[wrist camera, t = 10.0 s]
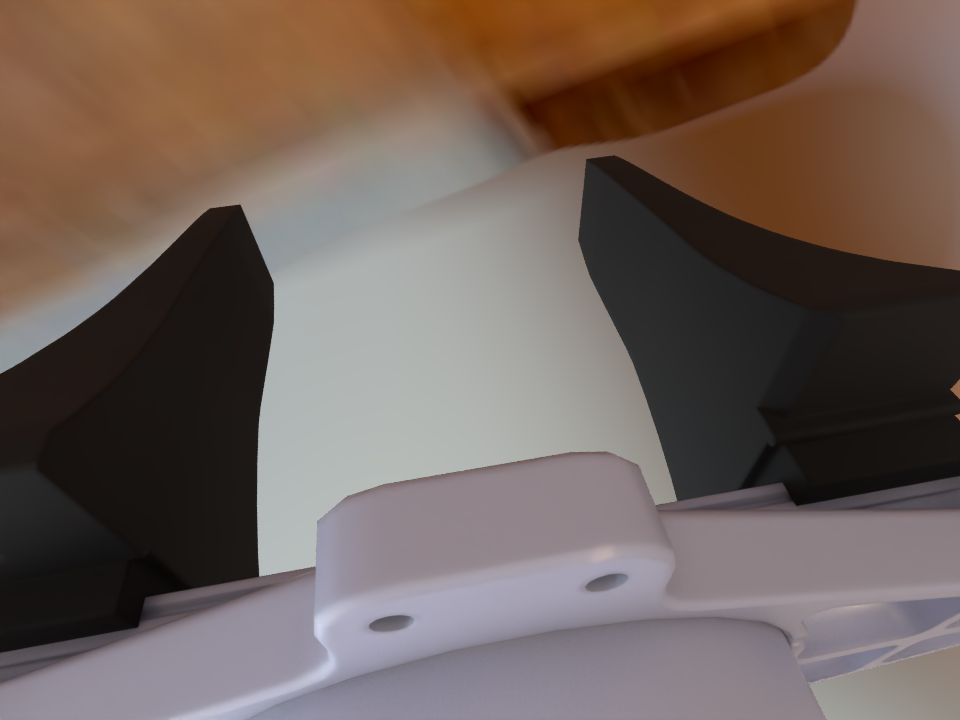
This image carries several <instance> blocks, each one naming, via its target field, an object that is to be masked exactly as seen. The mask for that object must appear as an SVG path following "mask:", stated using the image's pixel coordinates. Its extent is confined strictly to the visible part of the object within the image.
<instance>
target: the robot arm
mask: <svg viewBox="0 0 960 720" xmlns="http://www.w3.org/2000/svg"><path fill="white" fill-rule="evenodd" d="M578 240H579V243H580V246H581V250H582V253H583V257H584V260H585V263H586V266H587V268H588V272H589V275H590V277H591V279H592V281H593V283H594V285H595V287H596V289H597V291H598V293H599V295H600V297H601V299H602V301H603V303H604V305H605V307H606V309H607V311H608V313H609V315H610V317H611V319H612V321H613V323H614V325H615V327H616V329H617V331H618V333H619V335H620V337H621V338H622V341H623V343H624V345H625V346H626V349H627V351H628V353H629V355H630V357H631V359H632V362H633V364H634V367H635V370H636V372H637V375H638V378H639V381H640V383H641V386H642V389H643V391H644V394H645V397H646V400H647V403H648V406H649V409H650V411H651V415H652V418H653V421H654V423H655V427H656V430H657V433H658V435H659V439H660V442H661V446H662V449H663V452H664V456H665V459H666V462H667V466H668V469H669V472H670V475H671V478H672V483H673V486H674V490H675V494H676V497H677V501H676V502H671V503H665V504H659V505H655V504H654V501H653V499H652V496H651V494H650V492H649V489H648V487H647V484H646V482H645V480H644V477H643V475H642V473H641V470H640V468H639V465H637V464H635V463H632V462H630V461H628V460H626V459H624V458H621V457H619V456H617V455H615V454H612V453H608V452H571V453H564V454H558V455H552V456H546V457H540V458H535V459H529V460H523V461H517V462H511V463H506V464H500V465H494V466H488V467H482V468H476V469H470V470H465V471H459V472H453V473H447V474H441V475H435V476H430V477H424V478H418V479H412V480H406V481H400V482H394V483H389V484H383V485H380V486H377V487H374V488H371V489H368V490H365V491H362V492H359V493H355V494H352V495H349V496H347V497H346V498H344V499H343V500H342V501H341V502H340V503H338V504H337V505H336V506H335V507H334V508H333V509H331V510H330V511H329V512H328V513H327V514H326V515H324V516H323V517H322V518H321V519H320V520H318V522H317V548H316V567H311V568H305V569H300V570H295V571H289V572H283V573H277V574H272V575H266V576H261V577H259V564H258V537H257V536H258V535H257V456H258V455H257V454H258V427H259V416H260V407H261V401H262V395H263V388H264V382H265V376H266V370H267V364H268V358H269V351H270V344H271V338H272V331H273V324H274V283H273V280H272V278H271V276H270V273H269V271H268V269H267V266H266V264H265V262H264V259H263V257H262V254H261V252H260V250H259V247H258V245H257V243H256V240H255V238H254V236H253V233H252V231H251V228H250V226H249V224H248V221H247V219H246V217H245V214H244V212H243V210H242V207H241V205H233V206H225V207H218V208H210V209H209V210H207V211H206V212H205V213H203V214H202V215H201V216H200V217H199V218H198V219H197V220H196V221H195V222H194V223H193V224H192V225H191V226H190V227H189V228H188V229H187V230H186V231H185V232H184V233H183V234H182V235H181V236H180V237H179V238H178V239H177V240H176V241H175V242H174V243H173V244H172V245H171V246H170V247H169V248H168V249H167V250H166V251H165V252H164V253H163V254H162V255H161V256H160V257H159V258H158V259H157V260H156V261H155V262H154V263H153V264H152V265H151V266H150V267H148V268H147V269H146V270H145V271H144V272H143V273H142V274H141V275H140V276H138V277H137V278H136V279H135V280H134V281H133V282H132V283H131V284H130V285H128V286H127V287H126V288H125V289H124V290H123V291H122V292H121V293H120V294H118V295H117V296H116V297H115V298H114V299H112V300H111V301H110V302H109V303H108V304H106V305H105V306H104V307H102V308H101V309H100V310H99V311H97V312H96V313H95V314H93V315H92V316H91V317H89V318H88V319H86V320H85V321H84V322H82V323H81V324H80V325H78V326H77V327H76V328H74V329H73V330H71V331H70V332H68V333H67V334H65V335H64V336H62V337H61V338H59V339H57V340H56V341H54V342H53V343H51V344H49V345H48V346H46V347H45V348H43V349H42V350H40V351H38V352H37V353H35V354H34V355H32V356H30V357H29V358H27V359H26V360H24V361H22V362H21V363H19V364H17V365H16V366H14V367H12V368H10V369H9V370H7V371H5V372H3V373H1V374H0V720H826V718H825V716H824V714H823V712H822V710H821V708H820V706H819V704H818V702H817V700H816V698H815V696H814V694H813V692H812V690H811V688H810V686H809V684H812V683H816V682H820V681H824V680H828V679H832V678H836V677H839V676H843V675H847V674H851V673H855V672H858V671H862V670H866V669H870V668H874V667H878V666H882V665H885V664H889V663H893V662H897V661H901V660H904V659H908V658H912V657H916V656H920V655H924V654H928V653H932V652H936V651H939V650H944V649H948V648H952V647H956V646H959V645H960V421H959V419H958V418H957V417H956V416H955V415H957V414H960V399H959V398H958V397H957V396H956V395H955V394H954V393H953V392H952V391H951V390H950V389H951V388H952V387H953V386H954V385H955V384H956V383H957V381H958V380H959V379H960V271H959V270H952V269H944V268H937V267H930V266H923V265H915V264H908V263H901V262H893V261H888V260H882V259H877V258H872V257H867V256H862V255H857V254H852V253H847V252H843V251H839V250H835V249H830V248H826V247H822V246H818V245H814V244H811V243H808V242H804V241H801V240H797V239H794V238H790V237H787V236H784V235H781V234H778V233H774V232H772V231H769V230H766V229H764V228H761V227H758V226H756V225H753V224H750V223H748V222H745V221H742V220H740V219H737V218H735V217H732V216H730V215H728V214H726V213H723V212H721V211H719V210H717V209H715V208H713V207H711V206H708V205H707V204H705V203H703V202H700V201H698V200H696V199H694V198H693V197H691V196H689V195H687V194H685V193H683V192H681V191H679V190H678V189H676V188H674V187H672V186H670V185H669V184H667V183H665V182H663V181H661V180H660V179H658V178H656V177H654V176H653V175H651V174H649V173H648V172H645V171H644V170H642V169H640V168H639V167H637V166H635V165H633V164H631V163H629V162H628V161H626V160H624V159H621V158H619V157H617V156H606V157H599V158H591V159H587V160H586V168H585V179H584V190H583V199H582V209H581V219H580V228H579V239H578Z"/></svg>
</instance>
